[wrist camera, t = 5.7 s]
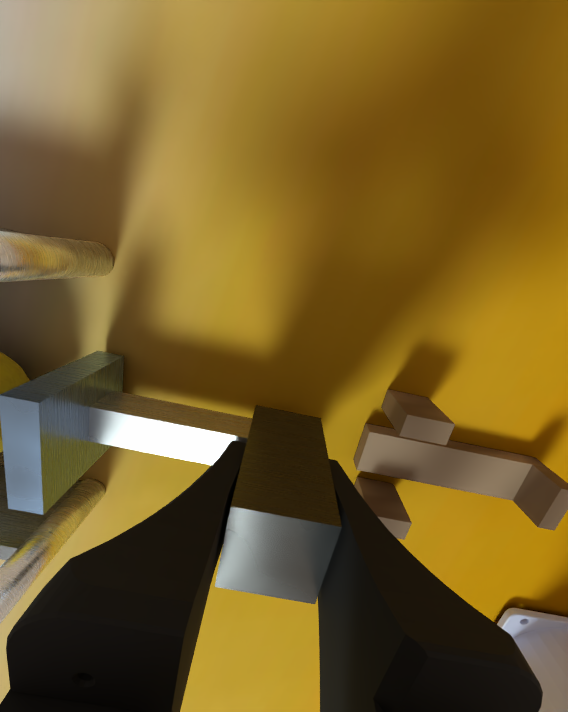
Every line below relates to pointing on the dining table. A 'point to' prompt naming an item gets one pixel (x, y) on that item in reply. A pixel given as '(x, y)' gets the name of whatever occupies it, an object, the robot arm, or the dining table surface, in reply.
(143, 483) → the dining table surface
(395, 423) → the track
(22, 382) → the lemon
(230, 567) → the rod
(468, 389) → the dining table surface
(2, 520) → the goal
